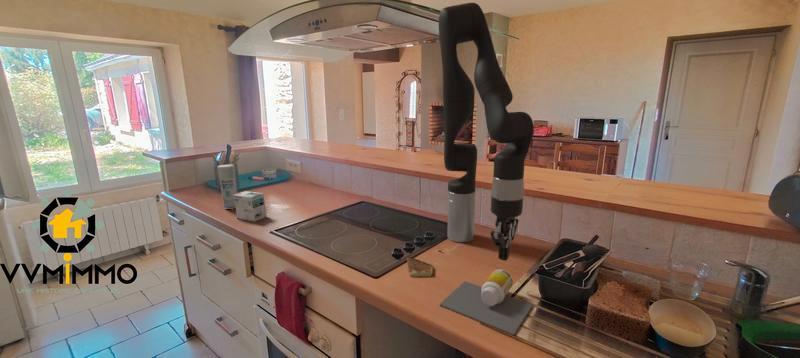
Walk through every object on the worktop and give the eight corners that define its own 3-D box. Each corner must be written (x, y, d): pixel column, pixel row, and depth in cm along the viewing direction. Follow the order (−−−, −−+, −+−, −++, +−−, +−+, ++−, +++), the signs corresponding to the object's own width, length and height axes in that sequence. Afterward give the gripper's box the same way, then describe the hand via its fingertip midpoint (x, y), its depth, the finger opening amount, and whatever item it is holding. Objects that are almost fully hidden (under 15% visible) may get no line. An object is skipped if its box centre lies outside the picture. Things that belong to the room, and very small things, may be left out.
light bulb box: (267, 217, 147) (264, 192, 144) (254, 222, 141) (251, 197, 138) (249, 213, 151) (245, 190, 148) (236, 218, 145) (232, 194, 143)
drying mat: (464, 282, 93) (464, 281, 93) (532, 305, 82) (533, 304, 82) (439, 305, 83) (439, 304, 83) (513, 335, 72) (513, 334, 72)
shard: (406, 260, 107) (406, 255, 106) (431, 259, 107) (431, 254, 106) (408, 278, 96) (408, 272, 96) (435, 277, 96) (435, 271, 96)
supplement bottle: (488, 270, 90) (473, 288, 82) (507, 266, 87) (494, 285, 78) (497, 290, 90) (483, 310, 81) (517, 286, 86) (504, 307, 78)
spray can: (239, 204, 164) (234, 163, 159) (238, 208, 158) (232, 166, 153) (224, 206, 162) (218, 165, 157) (223, 210, 156) (216, 167, 151)
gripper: (502, 186, 92) (499, 246, 96) (481, 198, 82) (478, 265, 86) (531, 190, 87) (526, 253, 91) (512, 204, 77) (508, 273, 81)
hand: (503, 258), depth 89 cm, fingers closed
